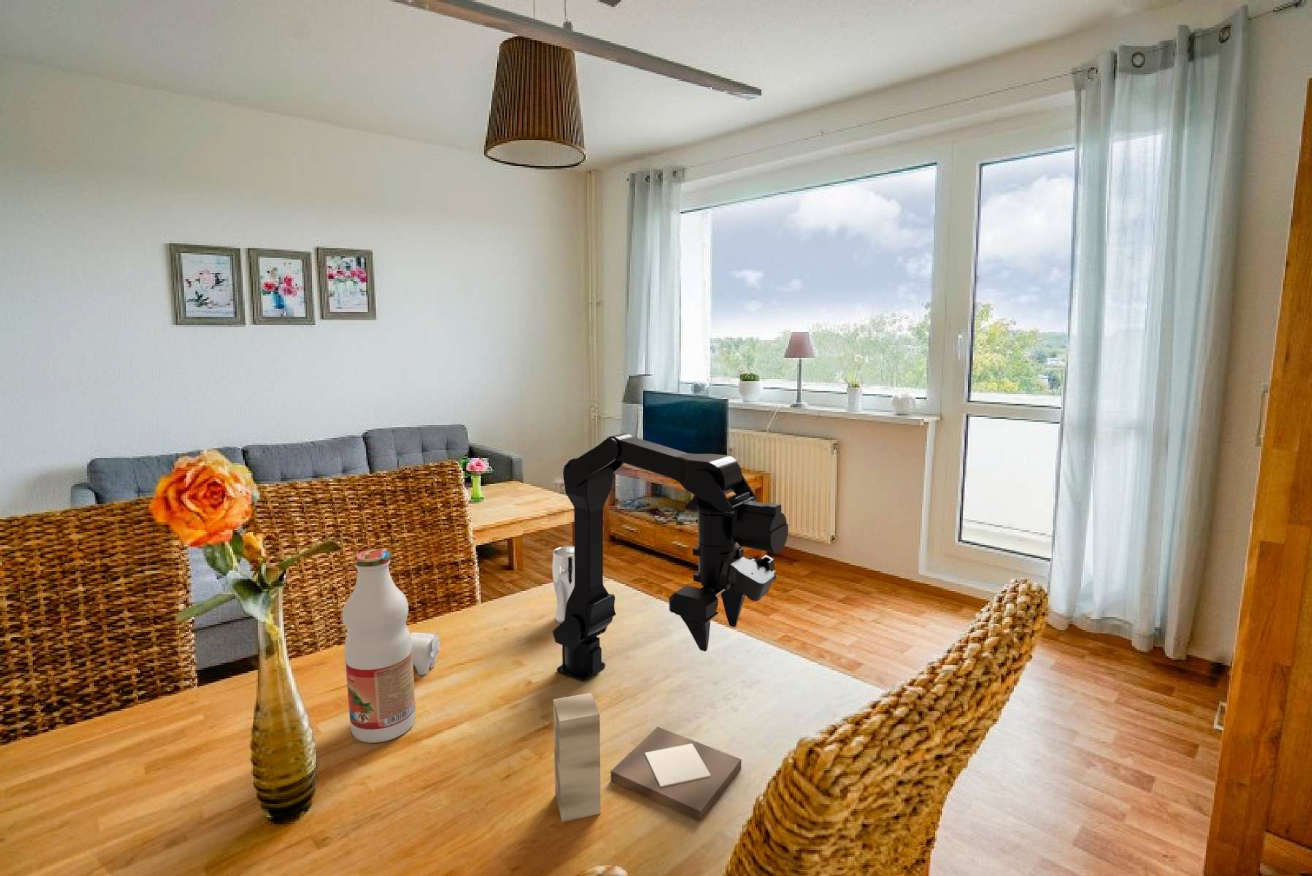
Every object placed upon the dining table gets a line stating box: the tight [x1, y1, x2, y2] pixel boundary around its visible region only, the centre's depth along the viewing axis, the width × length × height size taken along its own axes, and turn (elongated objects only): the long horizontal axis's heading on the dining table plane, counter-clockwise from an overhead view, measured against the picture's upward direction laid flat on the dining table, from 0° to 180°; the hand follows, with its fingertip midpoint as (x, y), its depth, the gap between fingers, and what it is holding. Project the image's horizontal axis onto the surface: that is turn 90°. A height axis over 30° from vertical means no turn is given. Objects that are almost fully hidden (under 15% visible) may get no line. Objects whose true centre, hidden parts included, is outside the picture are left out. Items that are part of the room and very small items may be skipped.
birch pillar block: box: [552, 692, 602, 823], centre depth 85 cm, size 5×5×14 cm
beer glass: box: [552, 545, 575, 625], centre depth 139 cm, size 7×7×15 cm
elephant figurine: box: [410, 632, 443, 676], centre depth 120 cm, size 8×10×7 cm
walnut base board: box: [610, 726, 742, 822], centre depth 92 cm, size 14×12×2 cm
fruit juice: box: [342, 548, 417, 744], centre depth 101 cm, size 9×9×28 cm
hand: (718, 638), depth 102 cm, fingers open, 9 cm apart
